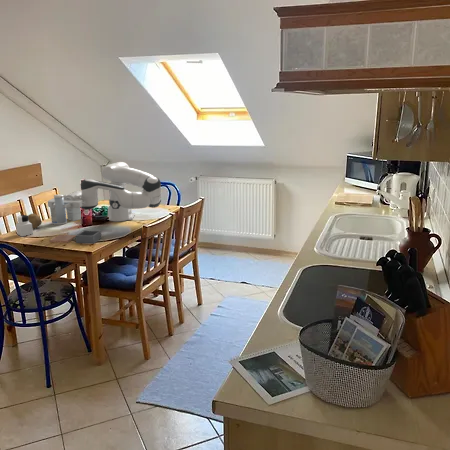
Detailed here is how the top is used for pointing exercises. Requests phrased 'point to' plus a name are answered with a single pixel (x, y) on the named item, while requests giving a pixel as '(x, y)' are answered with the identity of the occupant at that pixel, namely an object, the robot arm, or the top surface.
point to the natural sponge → (34, 220)
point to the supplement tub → (53, 216)
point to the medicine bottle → (24, 226)
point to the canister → (60, 208)
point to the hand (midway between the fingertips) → (59, 206)
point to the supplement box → (73, 214)
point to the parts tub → (88, 237)
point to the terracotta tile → (63, 238)
